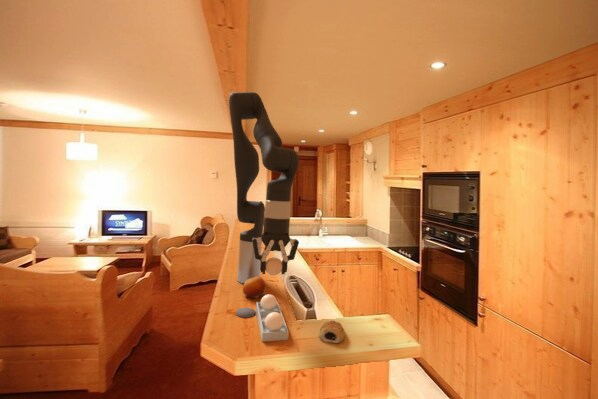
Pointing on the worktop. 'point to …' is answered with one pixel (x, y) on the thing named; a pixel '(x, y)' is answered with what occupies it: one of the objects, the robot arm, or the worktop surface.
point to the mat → (245, 312)
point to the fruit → (254, 287)
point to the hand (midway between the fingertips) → (273, 273)
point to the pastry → (332, 332)
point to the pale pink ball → (273, 266)
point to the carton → (264, 332)
